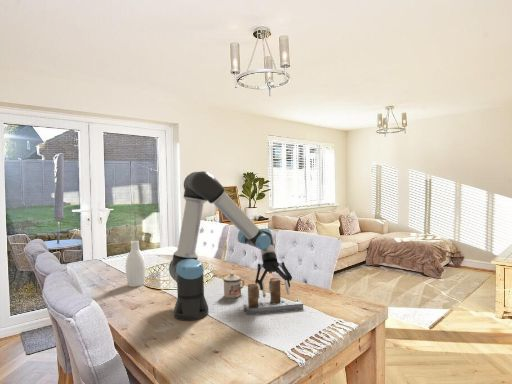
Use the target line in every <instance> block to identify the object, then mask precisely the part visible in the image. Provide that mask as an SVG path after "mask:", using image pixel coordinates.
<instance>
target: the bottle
mask: <svg viewBox="0 0 512 384" xmlns="http://www.w3.org/2000/svg"><path fill="white" fill-rule="evenodd" d="M139 242H140V240H131V241H130V251H129V253H128V256H127V257H126V260H125V261H126V262H125V275H126V281H127V286H128V287H130V288H138V287H141V286H143V285H144V284H145V282H146V275H147V270H146V269H147V268H146V267H147V264H146V263H147V262H146V259H145V256H144V255H143V253H142V252H141V250H140V243H139Z"/></svg>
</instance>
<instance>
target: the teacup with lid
mask: <svg viewBox="0 0 512 384" xmlns="http://www.w3.org/2000/svg"><path fill="white" fill-rule="evenodd" d="M222 280H223V296H224V297H225V298H227V299H236V297H237V298H239V297H240V296H241V295H242V289H243V288H244V287H245V280H244V279H242V278H241V276H239V275H236V274H235V273H234V272H230V273H229V274H228V275H227V276H225V277H224V278H223V279H222ZM241 282H242V285H241Z"/></svg>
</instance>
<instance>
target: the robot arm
mask: <svg viewBox="0 0 512 384" xmlns="http://www.w3.org/2000/svg"><path fill="white" fill-rule="evenodd" d="M183 190H184V191H183V199H184V201H185V204H184V205H185V206H184V211H183V217H182V223H181V228H180V235H179V238H178V245H177V250H175V251H174V252H173V255H172V260H170V262H169V265H168V272H169V275H170V277H171V278H172V280H174V281H175V283H176V286H177V288H176V290H177V291H176V292H177V298H176V303H175V305H174V310H173V316H174V318H175V319H177V320H179V321H196V320H199V319H202V318H205V317H206V316H208V314H209V306H208V302H207V300H206V298H205V285H204V283H205V282H204V281H205V280H204V264H203V262H202V261H201V260H199V259H198V258H199V257H198V255H197V253H196V250H197V243H198V239H199V238H198V237H199V234H200V233H199V232H200V226H201V220H202V214H203V210H204V204H206V203H207V202H208V203H209V204H212V205H214V206H215V207H216V208H217V209H218V210H219V211H220V212H221V213H222V214H223V215H224V216H225V217H226V218H227V219H228V220H229V221H230V222H231V223H232V225H234V226H235V228H236V229H237V230H239V231H238V233H237V242H239V243H240V244H243V245H249V246H252V247H254V248H257V249H258V250H260V254H261V255H260V256H261V260H262V263H258V264H257V265H256V267H257V271H256V276H255V282H254V284H257V285H259V286H258V287H259V291H262V296H263V297H262V298H265V297H266V295H267V293H266V289H265V283H264V280H265V277H266V275H267V274H268V273H276V274H277V275H278V276H280V278H282V280H284V286H285V290H286V295H287V296H289V295H290V293H291V292H290V288H291V283H290V281H292V279H293V276H292V274H291V273H290V271H289V270H288V268H287V267H286V264H285V262H284V261H282V262H278V258H277V257H278V256H277V253H276V250H275V243H274V239H273V238H274V237H273V234H272V231H271V230H270V229H269V228H266V227H265V228H259V227H258V226H257V225H256V224H255V223H254V221H252V220H251V218H250V217H249V216H248V215H247V214H246V213H245V212H244V211H243V210H242V208H240V206H239V205H237V203H236V202H235V201H234V200H233V199H232V198H231V196H229V195H228V193H226V188H225V187H224V186H223V185H222V184H221V183H220V182H219V180H217V178H216V177H215V176H214V175H213V174H212V173H210V172H207V171H202V170H201V171H193V172H191V173H189V174H188V175H187V176H186V177H185V179H184V180H183ZM262 268H263V269H264V271H263V273H262V275H261V277H260V273H261V270H262ZM280 268H281V269H280ZM259 278H260V279H259Z"/></svg>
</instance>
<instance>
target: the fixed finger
mask: <svg viewBox="0 0 512 384" xmlns="http://www.w3.org/2000/svg"><path fill="white" fill-rule="evenodd" d="M259 299H260V287H259V286H258V283H257V284H256V283H249V284H247V300H248V302H247V303H248V305H247V306H257V305H259Z"/></svg>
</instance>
